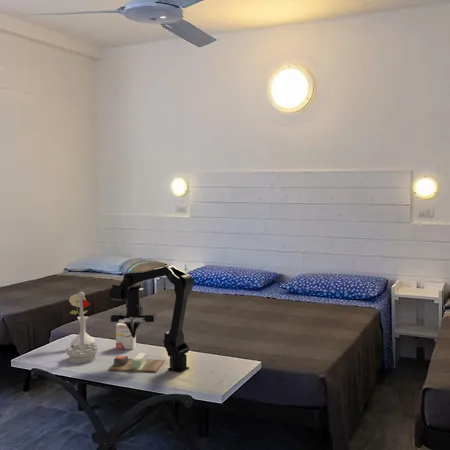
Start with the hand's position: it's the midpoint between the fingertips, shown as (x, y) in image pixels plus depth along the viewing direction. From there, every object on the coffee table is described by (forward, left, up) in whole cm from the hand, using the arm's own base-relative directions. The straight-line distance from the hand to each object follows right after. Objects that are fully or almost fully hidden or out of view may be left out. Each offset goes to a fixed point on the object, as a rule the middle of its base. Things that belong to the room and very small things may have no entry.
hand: (133, 337), depth 241 cm
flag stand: (+23, +10, -11) cm, 27 cm away
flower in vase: (+41, -4, -11) cm, 42 cm away
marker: (-5, +2, -10) cm, 12 cm away
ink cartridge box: (+21, -14, -11) cm, 28 cm away
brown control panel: (-4, +3, -11) cm, 12 cm away
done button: (+2, +6, -10) cm, 12 cm away
